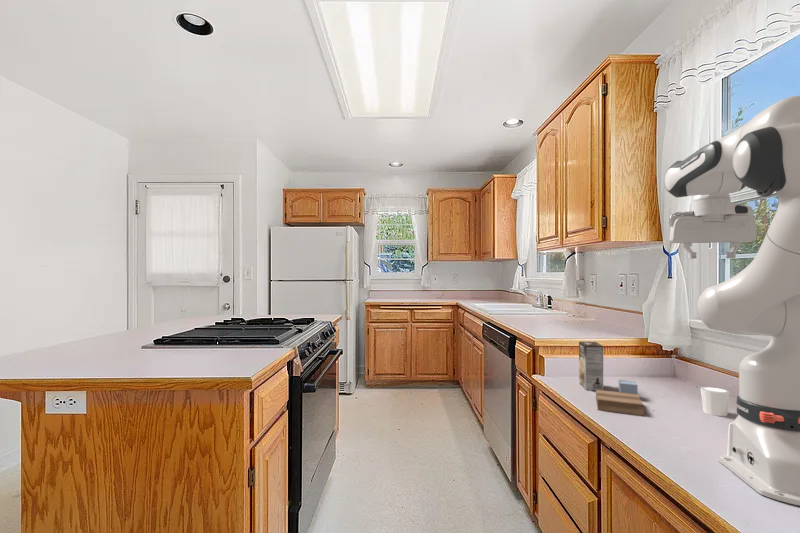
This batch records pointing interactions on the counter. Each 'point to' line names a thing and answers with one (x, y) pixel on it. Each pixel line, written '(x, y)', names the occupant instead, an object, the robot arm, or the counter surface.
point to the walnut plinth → (619, 402)
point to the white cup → (715, 401)
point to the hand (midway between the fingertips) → (711, 258)
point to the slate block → (628, 387)
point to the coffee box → (591, 365)
